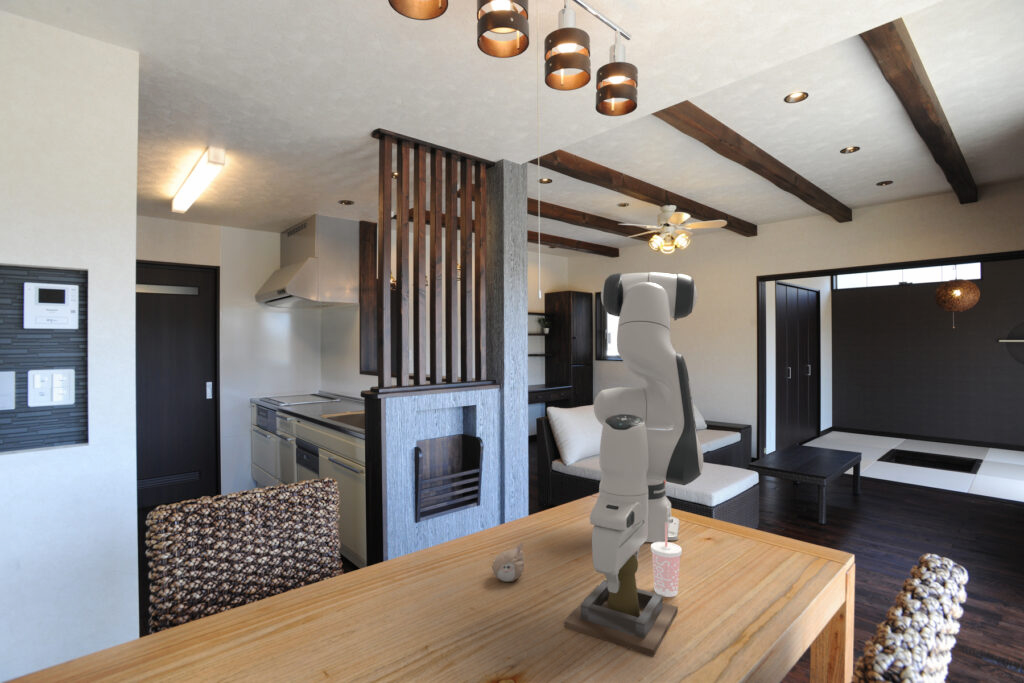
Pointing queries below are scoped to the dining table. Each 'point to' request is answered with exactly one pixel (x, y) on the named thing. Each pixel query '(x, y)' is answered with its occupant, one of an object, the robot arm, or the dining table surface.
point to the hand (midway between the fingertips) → (622, 580)
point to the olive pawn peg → (626, 590)
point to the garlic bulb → (509, 564)
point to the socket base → (624, 620)
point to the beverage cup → (666, 566)
